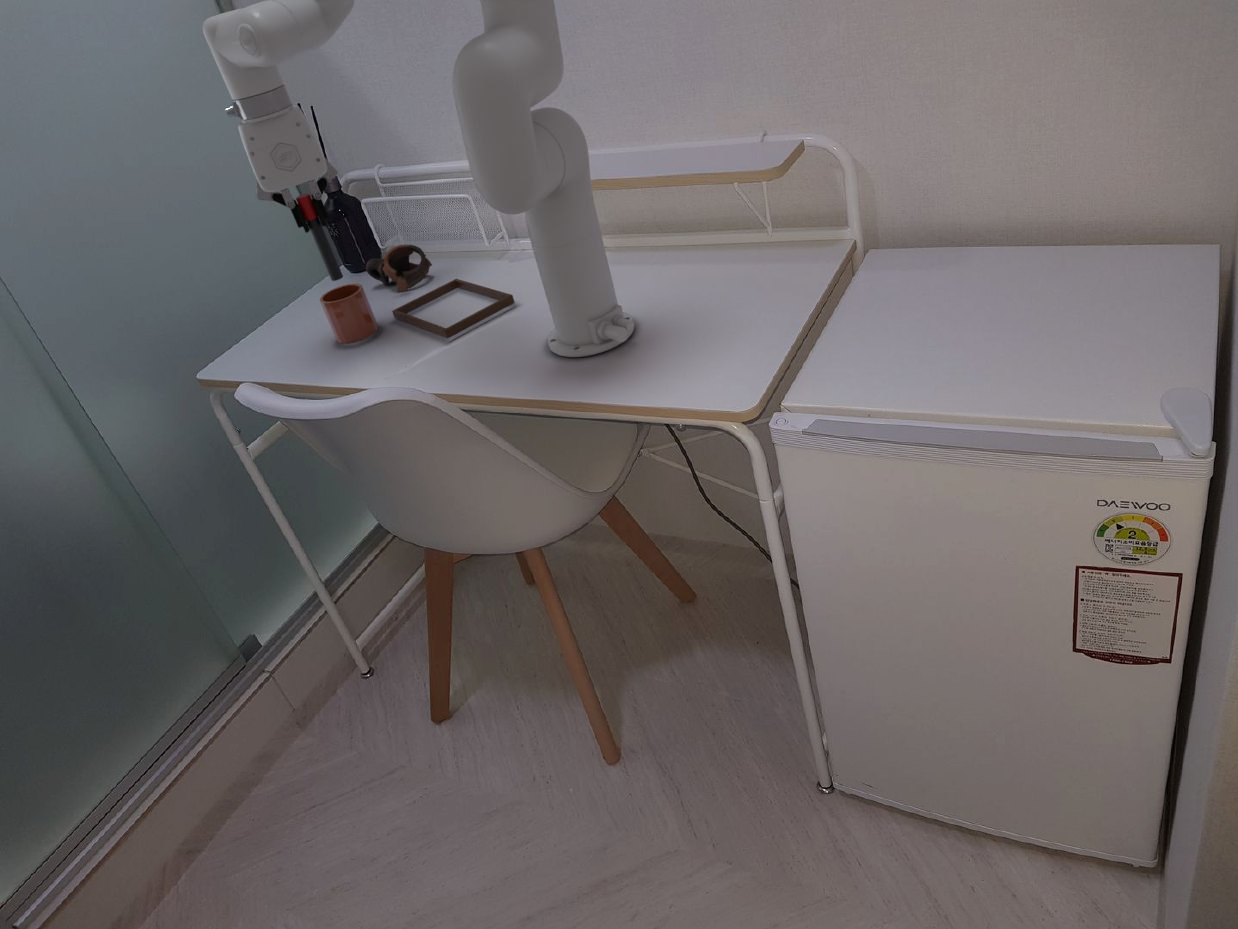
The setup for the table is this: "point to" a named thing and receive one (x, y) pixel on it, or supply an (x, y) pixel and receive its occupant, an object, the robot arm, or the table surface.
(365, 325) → the pen cup
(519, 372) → the table surface
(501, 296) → the tray
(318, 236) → the marker
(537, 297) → the table surface
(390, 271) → the pottery mug
